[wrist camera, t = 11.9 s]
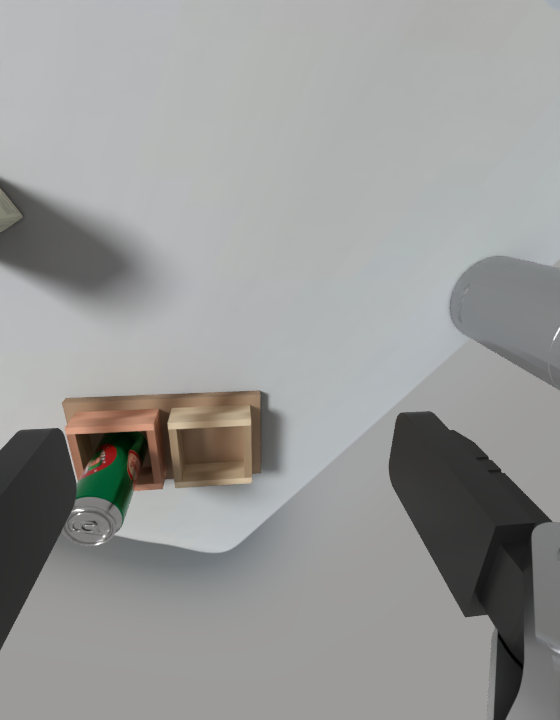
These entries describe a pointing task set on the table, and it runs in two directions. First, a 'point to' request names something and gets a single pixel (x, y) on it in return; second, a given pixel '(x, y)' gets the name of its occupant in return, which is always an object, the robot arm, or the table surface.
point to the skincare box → (7, 212)
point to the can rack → (174, 435)
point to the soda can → (106, 488)
